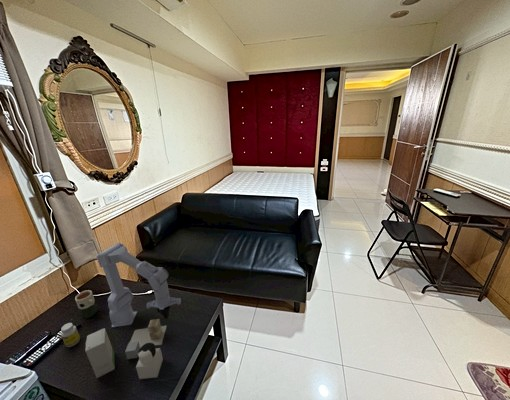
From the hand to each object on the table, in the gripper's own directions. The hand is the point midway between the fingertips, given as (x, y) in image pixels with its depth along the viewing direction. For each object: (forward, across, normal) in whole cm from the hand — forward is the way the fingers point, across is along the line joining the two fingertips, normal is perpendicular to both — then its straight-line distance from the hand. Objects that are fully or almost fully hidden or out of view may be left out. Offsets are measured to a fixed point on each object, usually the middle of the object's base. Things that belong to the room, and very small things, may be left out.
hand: (166, 316), depth 99 cm
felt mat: (+10, -10, 0) cm, 15 cm away
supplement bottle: (+11, -45, +3) cm, 46 cm away
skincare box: (+11, -24, -11) cm, 28 cm away
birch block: (+10, -6, 0) cm, 12 cm away
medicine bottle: (+11, -4, -16) cm, 19 cm away
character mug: (+10, -46, +19) cm, 51 cm away
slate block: (+11, -14, -8) cm, 19 cm away
